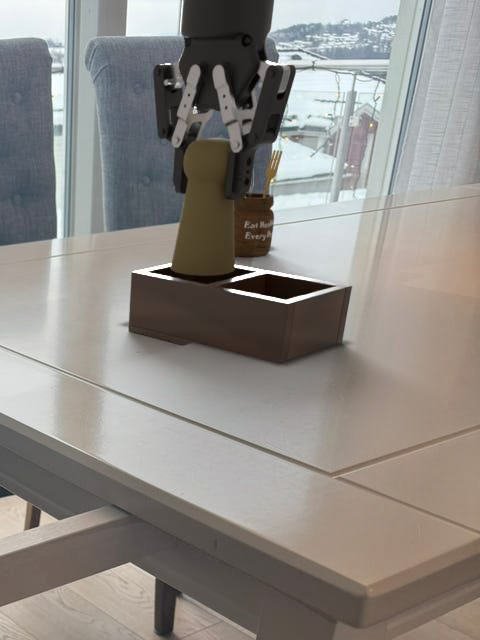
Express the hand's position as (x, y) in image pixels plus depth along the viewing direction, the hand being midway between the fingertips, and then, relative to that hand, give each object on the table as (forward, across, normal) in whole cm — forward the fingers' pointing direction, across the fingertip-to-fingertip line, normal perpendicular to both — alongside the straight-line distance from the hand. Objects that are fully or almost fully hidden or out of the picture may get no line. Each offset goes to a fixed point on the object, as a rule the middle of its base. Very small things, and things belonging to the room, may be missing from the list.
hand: (209, 194), depth 85 cm
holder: (+12, -4, 0) cm, 13 cm away
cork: (+7, 0, 0) cm, 7 cm away
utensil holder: (+12, +21, -35) cm, 42 cm away
